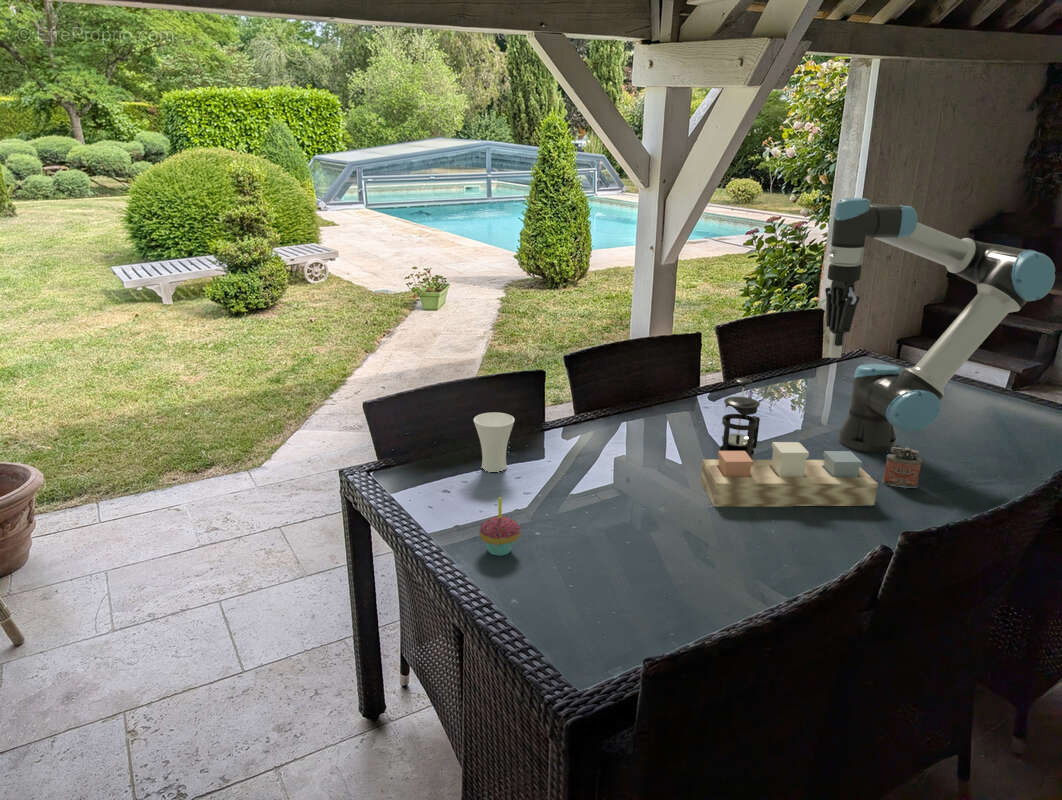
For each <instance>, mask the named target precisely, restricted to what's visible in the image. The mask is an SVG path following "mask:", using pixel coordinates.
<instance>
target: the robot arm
mask: <svg viewBox="0 0 1062 800" xmlns="http://www.w3.org/2000/svg"><path fill="white" fill-rule="evenodd" d="M918 220H919V219H918V213H917V211H916V209H915V208H914V207H912V206H911V205H901V204H899V205H887V204H880V203H874V202H873V203H872V202H871V201H870V200H869V199H868V198H864V197H863V198H862V197H843V198H840V199H838V200H837V201H836V204H835V209H834V214H833V225H832V226H833V227H832V234H831V236H832V237H831V247H830V250H829V253H828V254H830V255H829V262H830V264H829V265H828V268H827V279H828V280H830V281H831V284H830V287H826V288H825V289H824V292H825V296H826V299H825V303H826V304H825V305H826V307H825V310H826V314H825V315H826V316H825V318H826V320H825V321H826V327H829V328H828V329H829V331H830V336H829V346H828V353H827V357H829V358H830V359H835V358H837V359H838V358H839V359H840V358H842V353H843V352H842V350H843V343H844V335H845V334H846V333H850V331H851V328H852V325H853V320H854V317H855V312H856V310H857V309H856V308H857V305H858V303H859V301H860V296H858V295H855V289H856V288H855V283H856V282H858V281H860V280H861V277H862V276H861V275H862V268H863V266H862V265H861V264H863V262H864V254H865V253H864V252H865V243H866V239H875V240H877V241H880V242H883V243H885V244H888V245H890V246H893V247H896V248H898V249H901V250H904V251H906V252H909V253H911V254H914V255H916V256H919V257H921V258H924V259H927V260H929V261H931V262H935V263H936V264H939V265H942V266H945V269H946V270H947V271H948V272H949V273H952V274H954V275H956V276H959V277H961V278H963V279H964V280H967V281H969V282H971V283H973V284H974V285H976V289H977V294H976V295H975V296H974V297H973V299H971V301H970V302H969V303H968V304H967V305H966V306H965V308H964V309H963V310H962V311H961V312H960V313H959V314H958V316H957V317H956V318H955V319H954V320H953V322H951V324H950V325H949V326H948V327H947V329H945V331H943V332H942V334H941V335H940V337H939V338H938V339H937V340H935V342H934V343H933V345H932V346H931V347H930V348H929V349H928V351H927V352H926V353H925V354H924V355H923V356H921V357H922V358H921V359H920V360H919V361H918V362H917V363H916V364H915V366H912V367H905V368H904V369H903V370H902V368H901V367H899V366H896V365H891V364H882V363H881V364H880V363H867V364H861V365H858V366H857V367H856V369H855V372H854V376H853V382H852V383H853V384H852V391H851V397H850V402H849V409H848V410H849V411H848V415H847V416H846V418H845V420H844V422H843V424H842V426H841V428H840V429H839V431H838V437H837V440H838V442H839V443H840V444H841V445H843V446H845V447H847V448H849V449H852V450H854V451H855V450H856V451H859V452H864V453H873V454H883V453H882V452H885V453H888V452H887V451H890V452H891V448H892V447H896V446H897V437H896V431H895V428H898V429H900V430H903V431H906V432H917V431H918V432H919V431H921V430H924V429H926V428H928V427H929V426H931V425H933V424H934V423H935V421H936V420H937V419H938V417H939V416H940V412H941V411H940V409H941V400H942V399H943V398H944V396H945V390H944V388H945V385H946V384H947V383H948V382H949V381H950V380H951V378H953V377H954V375H955V374H956V373H957V372H958V371H959V369H961V367H962V366H963V365H964V364H965V363H966V362H967V360H969V358H970V357H971V356H972V355H973V354H974V353H975V351H977V349H978V348H979V347H980V346H981V345H982V344H983V342H984V341H985V340H986V339H987V338H988V337H989V336H990V334H991V333H992V332H993V331H994V330H995V329H996V328H997V327H998V326H999V324H1000V323H1001V322H1002V321H1003V320H1004V319H1005V317H1006V316H1008V314H1009V313H1014V312H1019V311H1020V310H1021V309H1022V308H1023V307H1024V306H1025V304H1026V303H1028V302H1032V301H1033V302H1034V301H1037V300H1041V299H1043V298H1044V297H1046V296H1047V295H1048V294H1049V293H1050V292H1051V290H1052V288H1053V287H1054V284H1055V280H1056V274H1055V272H1056V268H1055V267H1056V266H1055V264H1054V262H1053V260H1052V259H1051V258H1050V257H1049V256H1048V255H1046V254H1045V253H1042V252H1038V251H1036V250H1033V249H1025V248H1017V247H1013V246H1007V245H1002V244H997V243H996V244H995V243H987V242H982V241H978V240H975V239H972V238H970V237H963V238H961V239H960V238H958V237H956V236H954V235H952V234H948V233H945V232H943V231H940V230H937V229H936V228H933V227H930V226H929V225H928V226H927V225H925V224H923V223H920V222H918Z"/></svg>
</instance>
